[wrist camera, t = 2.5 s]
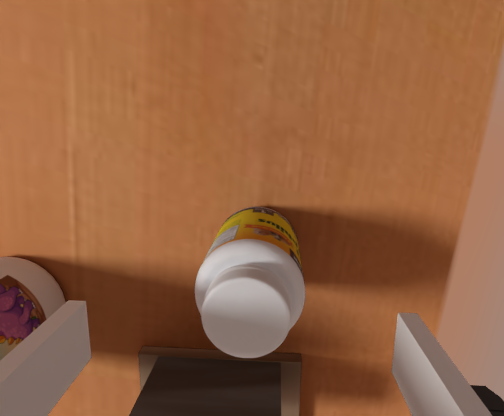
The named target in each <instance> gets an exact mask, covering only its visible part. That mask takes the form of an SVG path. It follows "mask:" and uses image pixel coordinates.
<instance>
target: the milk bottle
mask: <svg viewBox="0 0 504 416" xmlns="http://www.w3.org/2000/svg"><path fill="white" fill-rule="evenodd" d="M65 303H66V302H65V298H64V295H63V292H62V290H61V288H60V286H59V284H58V283H57V282H56V280H55V279H54V278H53V276H52V275H51V274H49V273H48V272H47V271H46V270H45V269H44V268H42V267H40V266H39V265H38V264H36V263H33V262H31V261H29V260H26V259H22V258H18V257H0V360H2V359H3V358H4V357H5V356H6V355H7V354H8V353H9V352H11V351H12V350H13V349H14V348H15V347H16V346H17V345H18V344H20V343H21V342H22V341H23V340H24V339H25V338H26V337H28V336H29V335H30V334H31V333H32V332H33V331H34V330H35V329H37V328H38V327H39V326H40V325H41V324H42V323H43V322H44V321H46V320H47V319H48V318H49V317H50V316H51V315H52V314H54V313H55V312H56V311H57V310H58V309H59V308H60V307H61V306H63V305H64V304H65Z"/></svg>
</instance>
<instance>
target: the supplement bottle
mask: <svg viewBox="0 0 504 416" xmlns="http://www.w3.org/2000/svg"><path fill="white" fill-rule="evenodd" d="M195 299H196V304H197V307H198V310H199V312H200V314H201V319H202V325H203V328H204V331H205V333H206V335H207V337H208V338H209V339H210V341H211V342H212V343H213V344H214V345H215V346H216V347H217V348H218V349H220V350H221V351H223V352H225V353H227V354H229V355H232V356H235V357H240V358H256V357H261V356H264V355H266V354H269V353H271V352H272V351H274V350H275V349H276V348H278V347H279V346H280V345H281V344H282V343H283V341H284V340H285V338H286V336H287V334H288V332H289V330H290V329H291V328H292V327H293V326H294V324H295V323H296V322H297V320H298V319H299V317H300V315H301V313H302V310H303V307H304V302H305V282H304V277H303V271H302V264H301V257H300V251H299V244H298V239H297V236H296V233H295V230H294V228H293V227H292V225H291V224H290V222H289V221H288V220H287V219H286V218H285V217H284V216H282V215H281V214H279V213H278V212H276V211H274V210H271V209H268V208H264V207H249V208H245V209H242V210H240V211H238V212H236V213H234V214H233V215H231V216H230V217H229V218H228V219H227V220H226V221H225V223H224V224H223V225H222V227H221V229H220V231H219V232H218V234H217V236H216V238H215V240H214V242H213V244H212V246H211V248H210V250H209V252H208V254H207V255H206V257H205V259H204V261H203V263H202V265H201V267H200V269H199V272H198V275H197V278H196V282H195Z"/></svg>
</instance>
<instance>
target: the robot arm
mask: <svg viewBox="0 0 504 416" xmlns="http://www.w3.org/2000/svg"><path fill="white" fill-rule="evenodd" d="M90 359H91V348H90V338H89V328H88V318H87V307H86V301H75V300H68V301H67V302H66V303H65V304H64V305H63V306H61V307H60V308H59V309H58V310H57V311H56V312H55V313H54V314H52V315H51V316H50V317H49V318H48V319H47V320H46V321H44V322H43V323H42V324H41V325H40V326H39V327H38V328H37V329H35V330H34V331H33V332H32V333H31V334H30V335H29V336H28V337H26V338H25V339H24V340H23V341H22V342H21V343H20V344H18V345H17V346H16V347H15V348H14V349H13V350H12V351H11V352H9V353H8V354H7V355H6V356H5V357H4V358H3V359H2V360H0V416H47V415H48V414H49V413H50V411H51V410H52V409H53V407H54V406H55V405H56V404H57V402H58V401H59V400H60V398H61V397H62V396H63V394H64V393H65V392H66V390H67V389H68V388H69V386H70V385H71V384H72V383H73V381H74V380H75V379H76V377H77V376H78V375H79V373H80V372H81V371H82V369H83V368H84V367H85V365H86V364H87V363H88V362H89V360H90ZM392 373H393V376H394V378H395V380H396V382H397V384H398V386H399V388H400V391H401V393H402V395H403V397H404V399H405V401H406V403H407V406H408V408H409V410H410V412H411V414H412V416H504V401H503V400H502V399H501V398H500V397H499V396H498V395H496V394H495V393H494V392H492V391H491V390H490V389H488V388H487V387H486V386H473V385H469V383H468V382H467V381H466V379H465V378H464V376H463V375H462V374H461V372H460V371H459V370H458V369H457V367H456V366H455V364H454V363H453V362H452V360H451V359H450V357H449V356H448V355H447V353H446V352H445V351H444V349H443V348H442V347H441V345H440V344H439V342H438V341H437V340H436V338H435V337H434V336H433V334H432V333H431V332H430V330H429V329H428V328H427V326H426V325H425V323H424V322H423V321H422V319H421V318H420V317H419V315H418V314H417V313H398V317H397V326H396V335H395V344H394V353H393V362H392Z"/></svg>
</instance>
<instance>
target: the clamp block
mask: <svg viewBox="0 0 504 416" xmlns="http://www.w3.org/2000/svg"><path fill="white" fill-rule="evenodd" d="M138 358H139V372H140V386H141V393H140V395H139V397H138V399H137V401H136V403H135V405H134V407H133V409H132V411H131V413H130V415H129V416H299V406H300V386H301V366H302V361H301V354H291V353H269V354H266V355H264V356H261V357H256V358H240V357H235V356H232V355H229V354H227V353H225V352H223V351H221V350H211V349H191V348H171V347H150V346H143V347H142V349H141V350H140V352H139V354H138Z"/></svg>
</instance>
